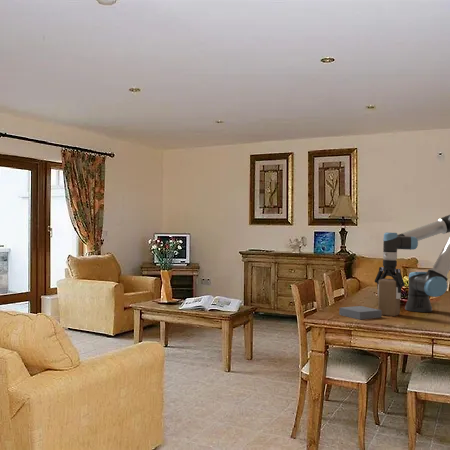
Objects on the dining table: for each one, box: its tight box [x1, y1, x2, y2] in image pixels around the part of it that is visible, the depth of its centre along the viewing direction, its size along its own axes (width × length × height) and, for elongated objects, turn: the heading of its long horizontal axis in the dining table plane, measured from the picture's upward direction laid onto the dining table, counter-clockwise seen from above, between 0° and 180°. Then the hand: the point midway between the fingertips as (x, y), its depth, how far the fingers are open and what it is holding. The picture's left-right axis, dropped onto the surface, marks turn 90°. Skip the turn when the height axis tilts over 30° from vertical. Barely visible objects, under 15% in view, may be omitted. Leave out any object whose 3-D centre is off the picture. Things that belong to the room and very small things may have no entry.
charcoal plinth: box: [338, 305, 382, 321], centre depth 290 cm, size 16×16×4 cm
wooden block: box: [377, 278, 401, 317], centre depth 297 cm, size 10×10×20 cm
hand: (388, 297), depth 297 cm, fingers open, 13 cm apart
